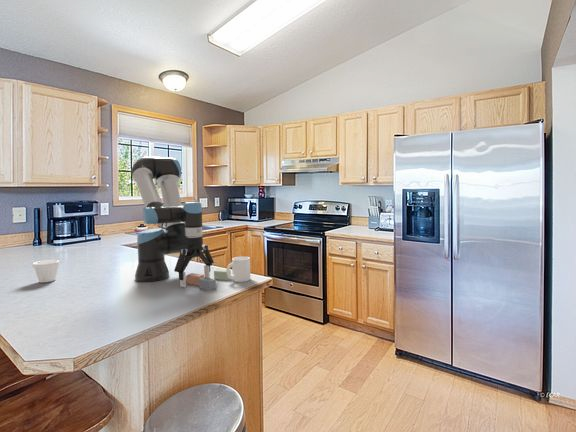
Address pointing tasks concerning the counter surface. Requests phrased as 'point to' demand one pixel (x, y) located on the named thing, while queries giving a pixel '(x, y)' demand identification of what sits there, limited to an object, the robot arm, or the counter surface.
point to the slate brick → (207, 283)
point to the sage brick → (221, 274)
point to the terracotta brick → (194, 278)
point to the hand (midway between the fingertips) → (195, 283)
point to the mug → (239, 269)
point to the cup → (46, 270)
